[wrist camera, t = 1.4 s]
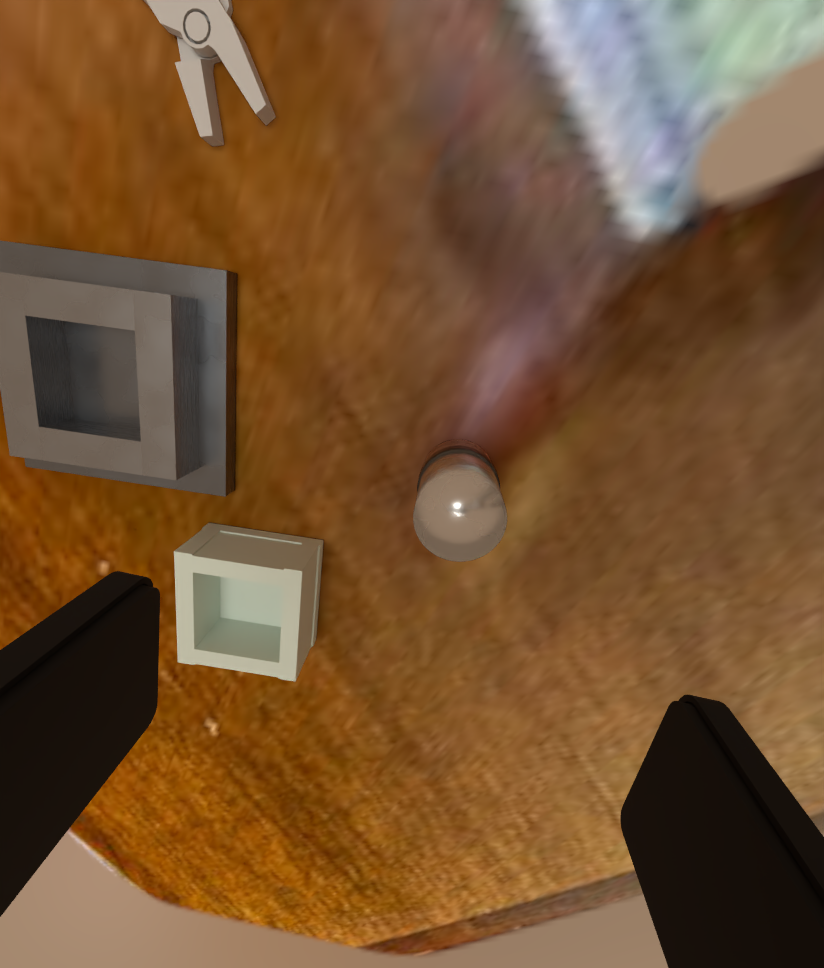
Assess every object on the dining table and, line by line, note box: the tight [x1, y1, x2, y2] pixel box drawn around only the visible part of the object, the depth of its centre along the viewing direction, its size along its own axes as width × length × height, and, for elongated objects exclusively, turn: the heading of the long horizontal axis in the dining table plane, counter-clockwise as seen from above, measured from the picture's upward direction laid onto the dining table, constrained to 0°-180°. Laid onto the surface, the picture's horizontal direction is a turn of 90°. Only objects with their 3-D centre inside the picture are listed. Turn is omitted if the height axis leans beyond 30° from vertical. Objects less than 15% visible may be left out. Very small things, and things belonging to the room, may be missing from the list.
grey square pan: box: [0, 241, 237, 497], centre depth 25 cm, size 18×12×4 cm, turn 83°
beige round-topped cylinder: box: [413, 439, 507, 562], centre depth 23 cm, size 4×4×7 cm
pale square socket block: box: [174, 523, 324, 681], centre depth 28 cm, size 7×7×4 cm
